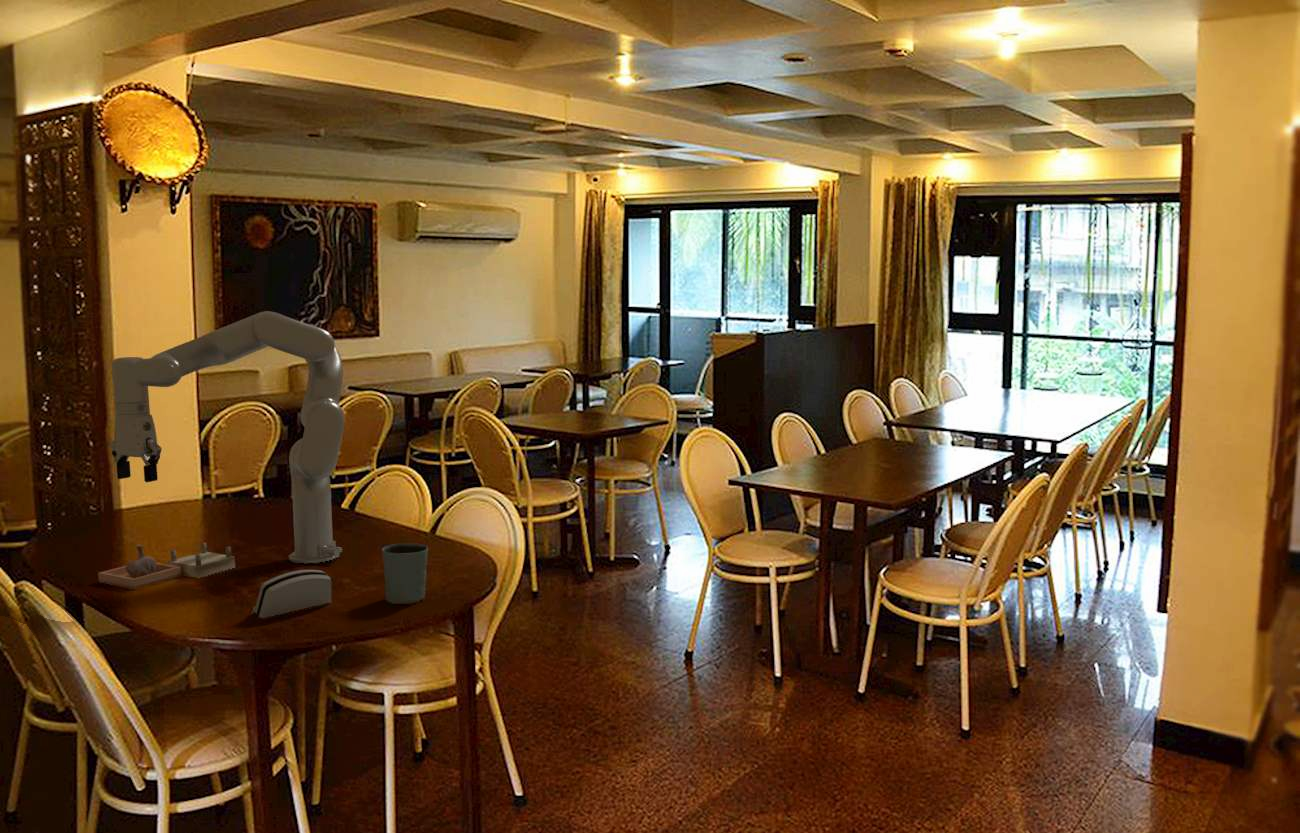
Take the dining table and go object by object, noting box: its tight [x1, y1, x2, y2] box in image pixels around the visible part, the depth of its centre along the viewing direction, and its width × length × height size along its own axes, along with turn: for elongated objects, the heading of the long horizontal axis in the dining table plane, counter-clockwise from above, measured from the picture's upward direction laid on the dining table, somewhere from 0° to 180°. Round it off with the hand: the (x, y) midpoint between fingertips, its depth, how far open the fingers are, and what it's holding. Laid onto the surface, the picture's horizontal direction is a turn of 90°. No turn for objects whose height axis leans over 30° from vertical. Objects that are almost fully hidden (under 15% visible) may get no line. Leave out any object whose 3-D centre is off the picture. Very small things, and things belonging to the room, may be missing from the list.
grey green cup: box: [381, 542, 429, 603], centre depth 252 cm, size 10×10×12 cm
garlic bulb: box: [125, 544, 157, 578], centre depth 269 cm, size 8×7×8 cm
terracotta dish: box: [97, 562, 182, 590], centre depth 270 cm, size 13×13×2 cm
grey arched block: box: [252, 569, 332, 619], centre depth 245 cm, size 17×5×10 cm, turn 134°
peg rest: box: [167, 542, 236, 579], centre depth 278 cm, size 11×11×6 cm
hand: (137, 479), depth 268 cm, fingers open, 9 cm apart
